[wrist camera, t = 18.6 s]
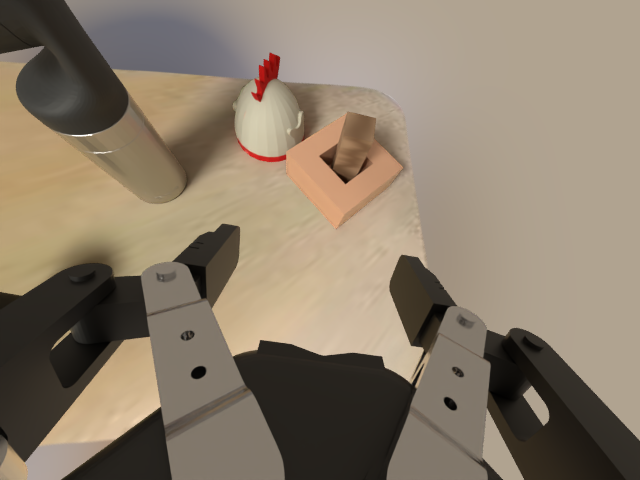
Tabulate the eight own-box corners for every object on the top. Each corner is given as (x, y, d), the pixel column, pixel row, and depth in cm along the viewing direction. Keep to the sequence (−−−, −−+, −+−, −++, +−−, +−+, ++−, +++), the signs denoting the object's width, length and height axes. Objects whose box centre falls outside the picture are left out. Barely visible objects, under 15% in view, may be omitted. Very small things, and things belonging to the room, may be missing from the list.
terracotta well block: (286, 173, 48) (286, 151, 41) (340, 138, 52) (348, 112, 46) (336, 229, 46) (344, 214, 39) (388, 187, 50) (403, 167, 43)
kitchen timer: (314, 124, 52) (324, 54, 38) (286, 172, 48) (285, 113, 34) (257, 98, 53) (245, 18, 38) (223, 143, 48) (196, 72, 34)
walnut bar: (327, 185, 47) (343, 135, 34) (331, 166, 49) (347, 111, 35) (349, 190, 48) (373, 142, 34) (352, 171, 49) (376, 118, 36)
